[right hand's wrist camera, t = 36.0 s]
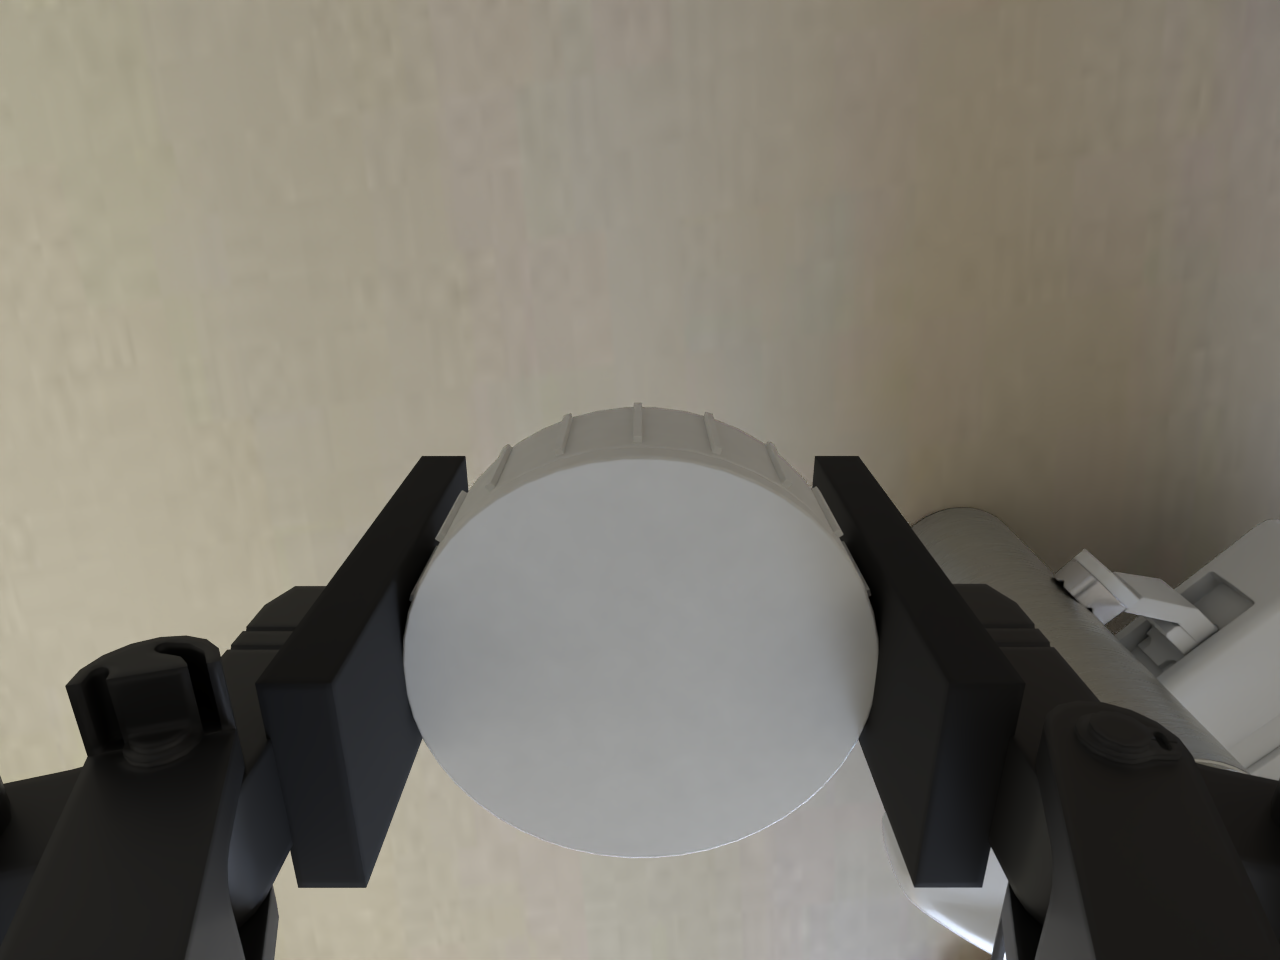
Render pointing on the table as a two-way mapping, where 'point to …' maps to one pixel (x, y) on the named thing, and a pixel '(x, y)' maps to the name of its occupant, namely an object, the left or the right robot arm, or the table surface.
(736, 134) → the table surface
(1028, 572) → the grey cylinder
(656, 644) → the lid
